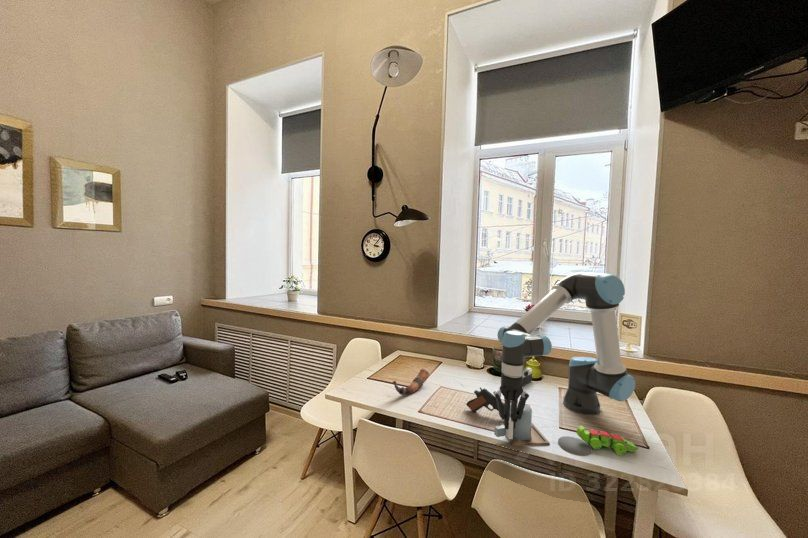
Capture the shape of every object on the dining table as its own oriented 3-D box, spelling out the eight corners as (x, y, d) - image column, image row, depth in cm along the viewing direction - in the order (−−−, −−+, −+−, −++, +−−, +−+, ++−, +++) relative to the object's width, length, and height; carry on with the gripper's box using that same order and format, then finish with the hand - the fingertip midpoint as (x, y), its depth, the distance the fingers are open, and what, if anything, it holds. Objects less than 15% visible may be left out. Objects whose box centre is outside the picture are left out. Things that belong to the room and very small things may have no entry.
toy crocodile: (630, 449, 118) (633, 433, 118) (639, 459, 111) (641, 443, 111) (573, 435, 123) (575, 420, 122) (577, 445, 116) (580, 429, 116)
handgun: (466, 403, 145) (479, 383, 142) (503, 433, 137) (518, 413, 134) (464, 405, 143) (478, 385, 140) (502, 436, 135) (517, 415, 132)
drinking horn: (430, 385, 170) (431, 366, 169) (397, 404, 146) (398, 383, 146) (421, 382, 173) (422, 364, 173) (388, 401, 149) (388, 380, 149)
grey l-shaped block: (521, 429, 127) (522, 402, 127) (535, 440, 120) (536, 411, 119) (489, 435, 122) (490, 407, 122) (502, 447, 114) (503, 416, 114)
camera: (519, 378, 184) (520, 361, 184) (534, 383, 178) (535, 365, 177) (505, 385, 173) (506, 367, 173) (520, 390, 167) (521, 371, 166)
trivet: (579, 438, 123) (579, 436, 123) (598, 456, 112) (598, 453, 112) (552, 438, 123) (552, 436, 122) (568, 456, 112) (568, 454, 112)
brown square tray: (531, 425, 132) (532, 422, 132) (549, 445, 118) (549, 442, 118) (499, 425, 131) (499, 423, 131) (512, 445, 117) (513, 443, 117)
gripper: (524, 370, 120) (521, 431, 121) (491, 370, 119) (488, 431, 120) (534, 378, 113) (531, 442, 114) (498, 377, 112) (495, 443, 113)
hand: (509, 437), depth 117 cm, fingers closed
